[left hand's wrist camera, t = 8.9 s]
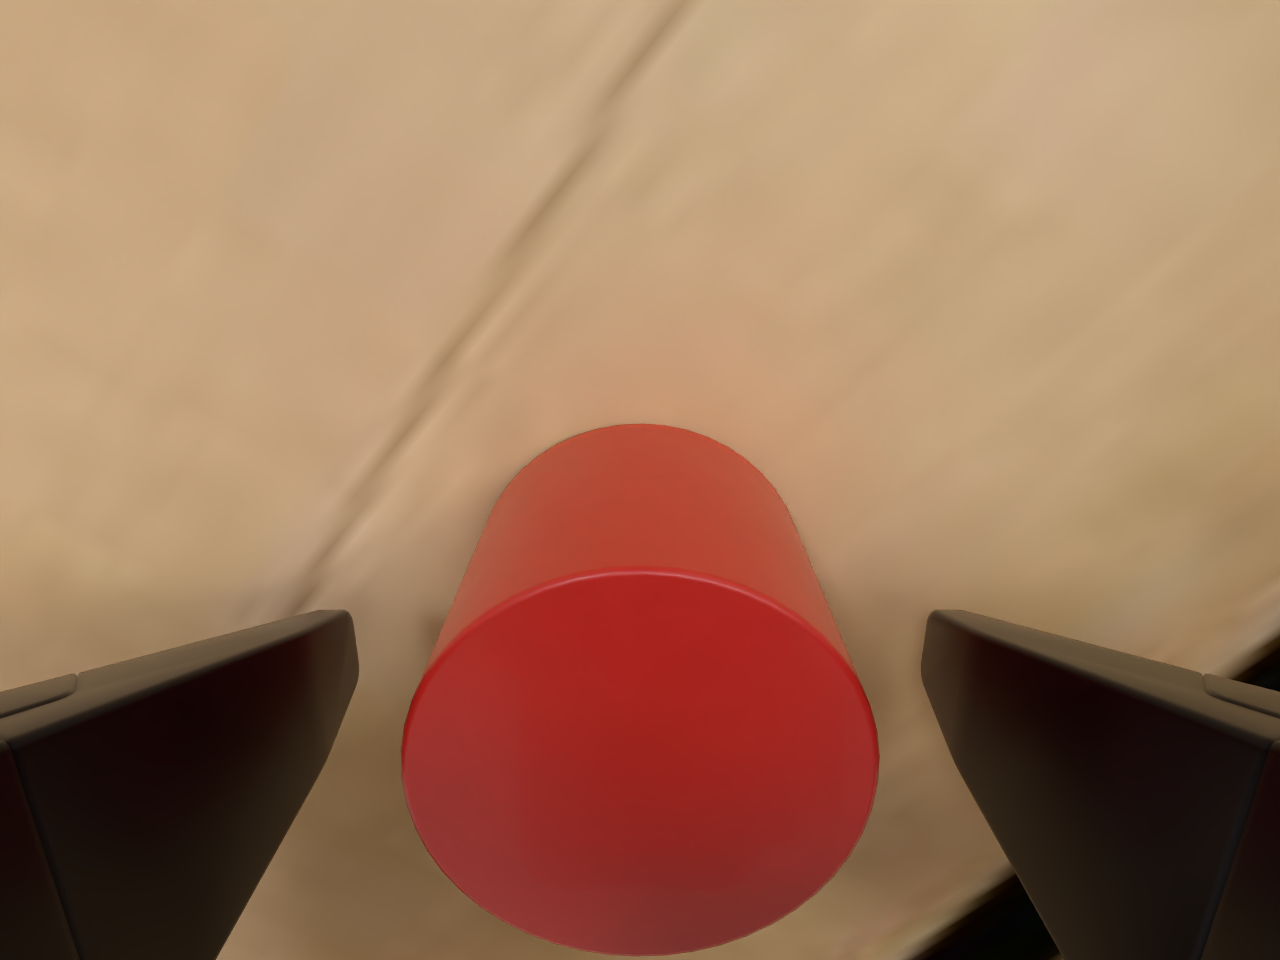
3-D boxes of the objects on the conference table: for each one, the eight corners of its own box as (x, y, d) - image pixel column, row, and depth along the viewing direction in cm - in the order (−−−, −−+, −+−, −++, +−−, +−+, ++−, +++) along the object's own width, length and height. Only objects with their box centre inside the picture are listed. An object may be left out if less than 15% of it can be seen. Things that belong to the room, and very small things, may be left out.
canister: (487, 708, 14) (418, 957, 10) (469, 420, 12) (375, 564, 8) (788, 711, 14) (855, 962, 10) (813, 424, 12) (910, 572, 8)
